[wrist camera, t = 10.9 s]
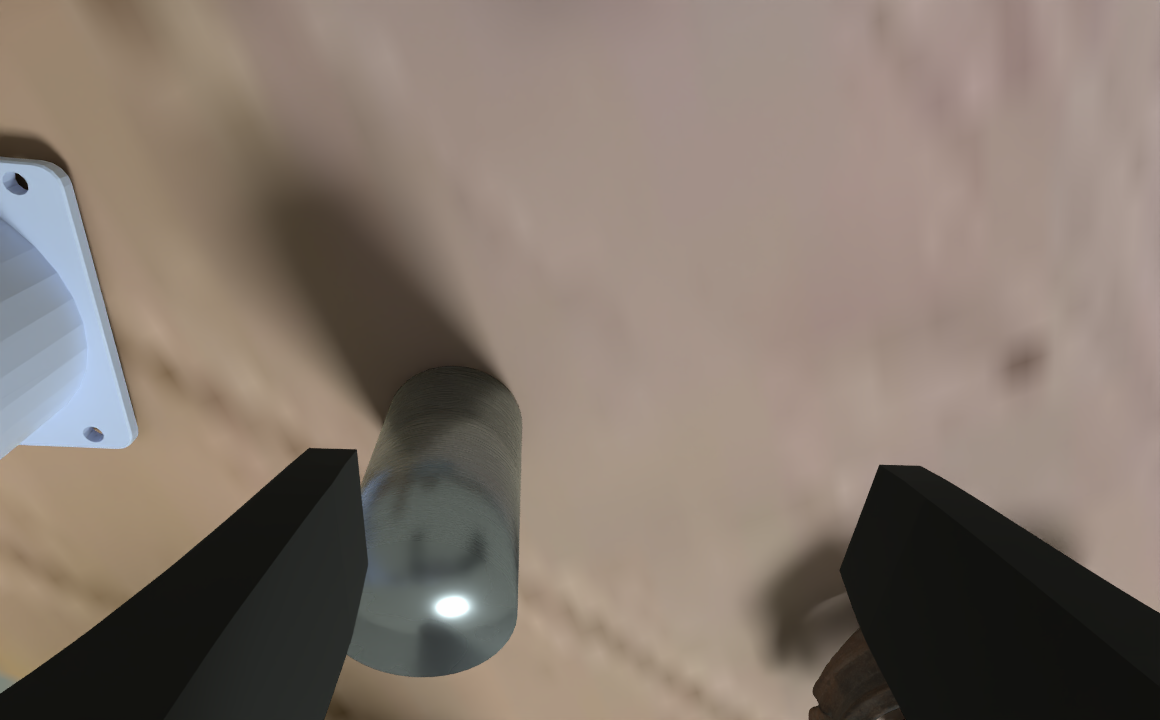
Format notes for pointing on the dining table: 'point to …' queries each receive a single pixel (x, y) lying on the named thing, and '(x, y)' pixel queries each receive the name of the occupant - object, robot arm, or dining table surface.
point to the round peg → (441, 527)
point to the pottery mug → (852, 685)
